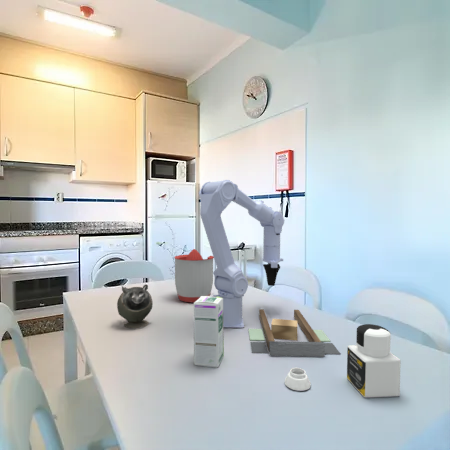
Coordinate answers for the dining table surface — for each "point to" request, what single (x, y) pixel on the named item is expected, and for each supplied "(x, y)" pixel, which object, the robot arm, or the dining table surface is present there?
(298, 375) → the lidless jar
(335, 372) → the dining table surface
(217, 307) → the syrup box
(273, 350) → the trap bay
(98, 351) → the dining table surface
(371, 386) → the medicine bottle
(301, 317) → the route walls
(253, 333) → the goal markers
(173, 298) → the dining table surface
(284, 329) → the oak block
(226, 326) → the robot arm
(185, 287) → the citrus juicer
